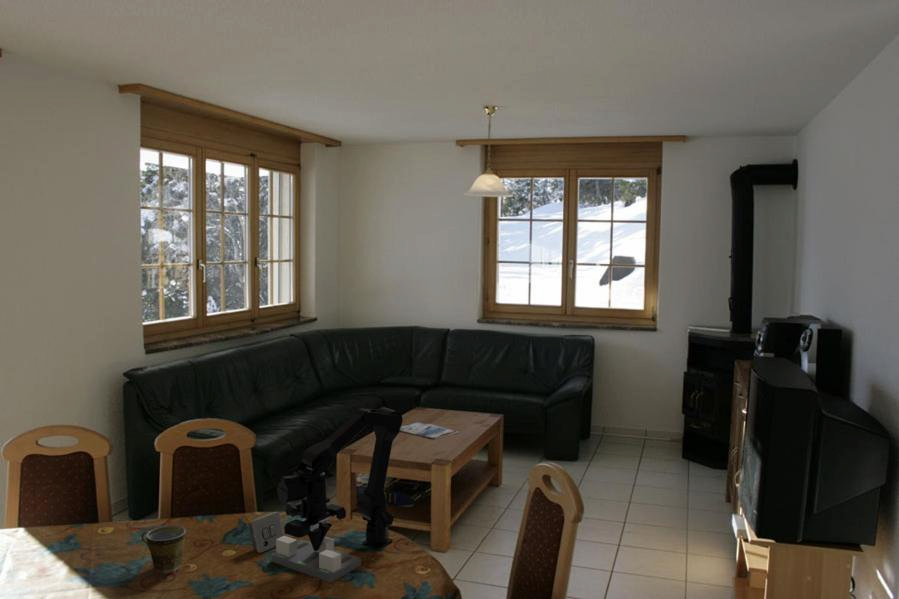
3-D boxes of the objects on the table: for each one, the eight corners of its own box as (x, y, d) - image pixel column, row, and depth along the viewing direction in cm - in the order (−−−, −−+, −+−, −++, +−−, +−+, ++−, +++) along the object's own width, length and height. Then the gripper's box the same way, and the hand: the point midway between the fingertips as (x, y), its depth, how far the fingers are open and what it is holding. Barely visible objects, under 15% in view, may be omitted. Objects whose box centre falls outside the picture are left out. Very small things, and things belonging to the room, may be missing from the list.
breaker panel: (302, 546, 220) (301, 526, 219) (360, 565, 208) (360, 544, 207) (271, 561, 210) (270, 540, 209) (330, 582, 198) (330, 560, 197)
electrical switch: (259, 554, 214) (256, 522, 214) (247, 551, 218) (245, 519, 217) (285, 543, 222) (283, 512, 221) (274, 540, 225) (271, 509, 224)
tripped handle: (320, 546, 214) (320, 534, 213) (333, 551, 211) (333, 538, 211) (313, 550, 211) (312, 538, 211) (326, 555, 208) (326, 542, 208)
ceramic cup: (194, 563, 208) (193, 528, 207) (170, 579, 199) (168, 542, 198) (155, 556, 213) (154, 521, 212) (129, 571, 203) (128, 535, 202)
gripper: (317, 480, 219) (317, 532, 221) (269, 498, 204) (269, 555, 205) (347, 488, 213) (347, 542, 215) (299, 507, 198) (299, 565, 199)
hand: (316, 550), depth 208 cm, fingers closed
